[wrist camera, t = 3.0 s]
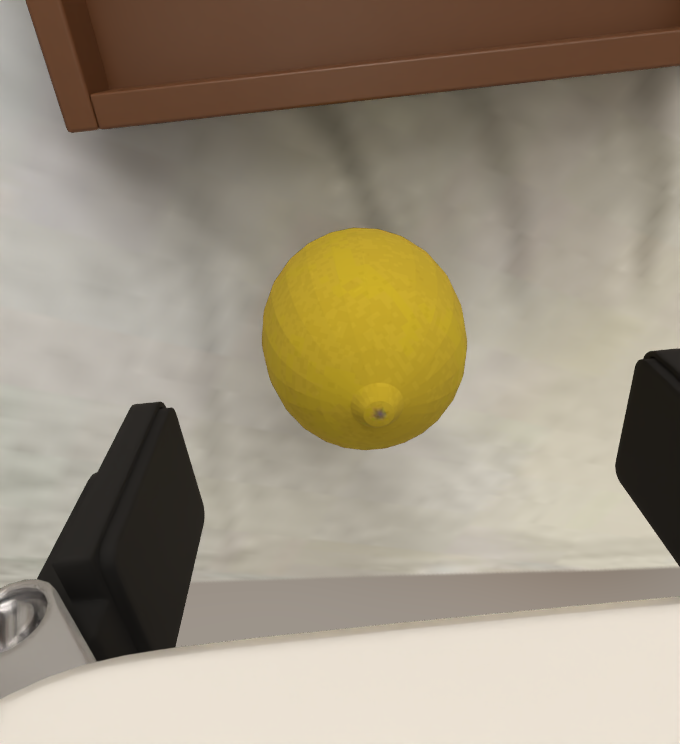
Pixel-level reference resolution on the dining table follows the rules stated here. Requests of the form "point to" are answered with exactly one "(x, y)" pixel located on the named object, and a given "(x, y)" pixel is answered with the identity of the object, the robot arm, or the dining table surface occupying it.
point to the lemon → (364, 339)
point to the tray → (326, 51)
